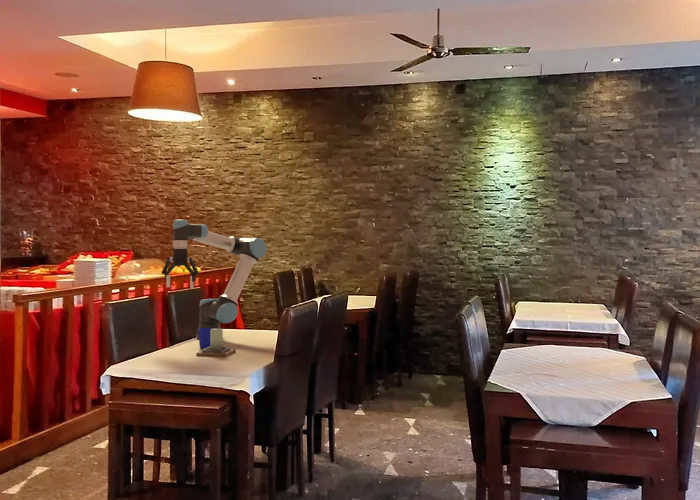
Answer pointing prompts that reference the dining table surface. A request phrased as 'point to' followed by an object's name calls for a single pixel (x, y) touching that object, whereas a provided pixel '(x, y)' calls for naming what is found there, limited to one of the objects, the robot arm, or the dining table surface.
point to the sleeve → (216, 339)
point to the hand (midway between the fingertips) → (180, 287)
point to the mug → (204, 337)
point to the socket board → (216, 352)
